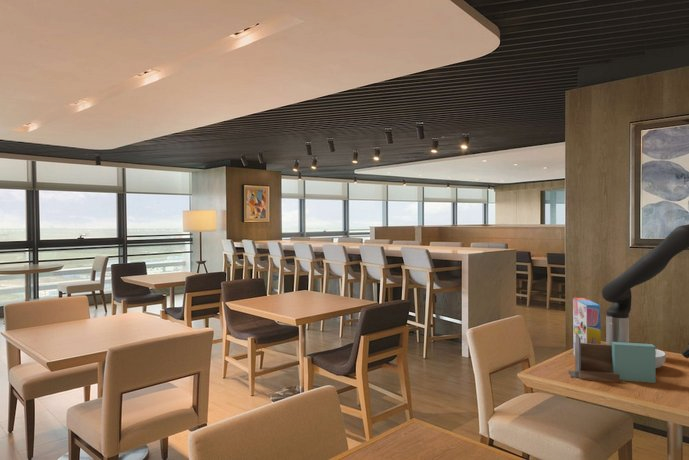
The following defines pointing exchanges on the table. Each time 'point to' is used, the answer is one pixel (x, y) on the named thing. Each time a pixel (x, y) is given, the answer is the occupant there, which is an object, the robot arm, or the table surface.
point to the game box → (586, 321)
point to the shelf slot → (596, 362)
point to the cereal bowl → (660, 358)
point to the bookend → (577, 358)
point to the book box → (634, 361)
